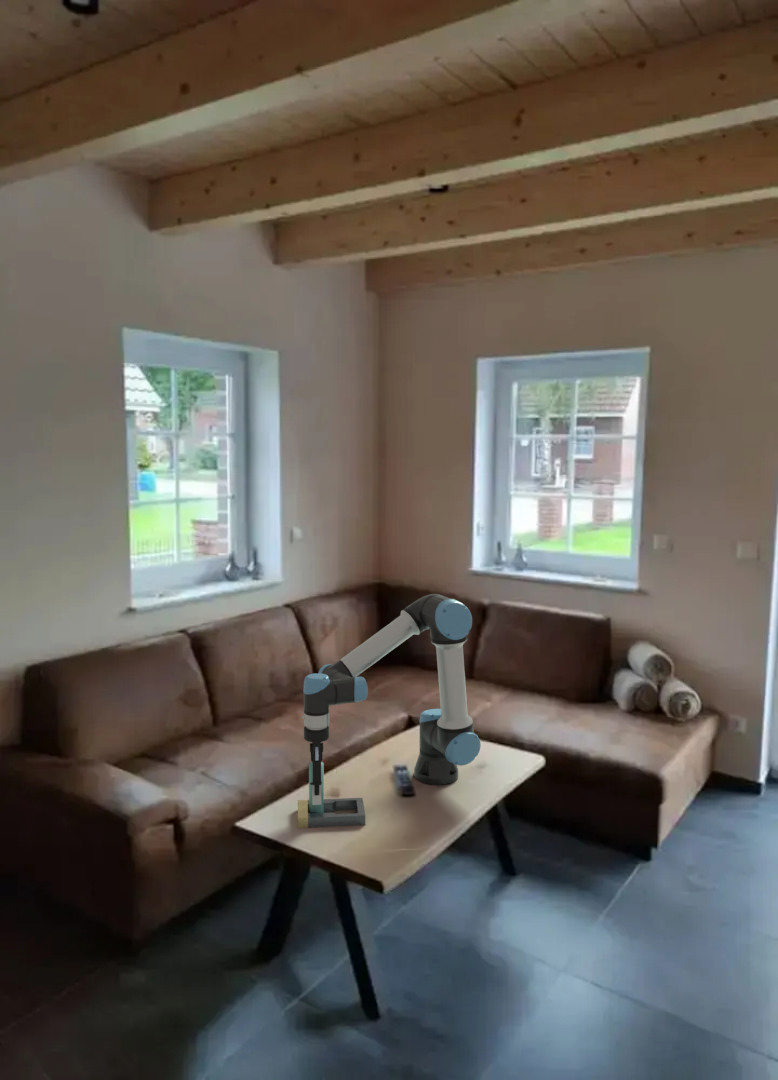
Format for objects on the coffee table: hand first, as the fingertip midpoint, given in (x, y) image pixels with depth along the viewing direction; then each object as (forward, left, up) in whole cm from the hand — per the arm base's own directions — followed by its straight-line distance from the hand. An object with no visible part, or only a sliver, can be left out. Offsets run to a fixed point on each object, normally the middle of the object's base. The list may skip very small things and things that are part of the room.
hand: (316, 800), depth 238 cm
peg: (0, 0, -5) cm, 5 cm away
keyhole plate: (-4, 0, -5) cm, 7 cm away
